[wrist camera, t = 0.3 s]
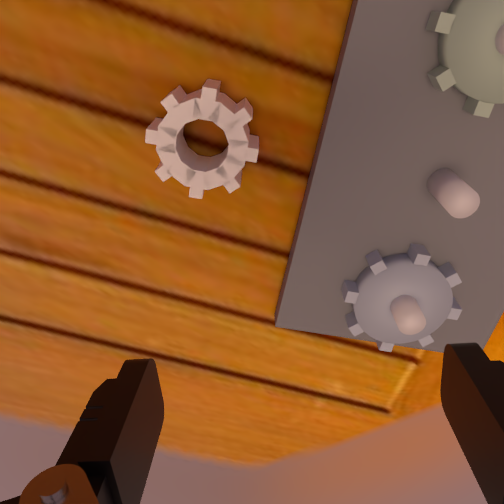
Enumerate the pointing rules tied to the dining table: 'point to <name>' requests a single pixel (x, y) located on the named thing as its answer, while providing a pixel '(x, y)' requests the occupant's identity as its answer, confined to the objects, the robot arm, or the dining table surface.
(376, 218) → the gear board
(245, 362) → the dining table surface
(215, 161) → the gear
